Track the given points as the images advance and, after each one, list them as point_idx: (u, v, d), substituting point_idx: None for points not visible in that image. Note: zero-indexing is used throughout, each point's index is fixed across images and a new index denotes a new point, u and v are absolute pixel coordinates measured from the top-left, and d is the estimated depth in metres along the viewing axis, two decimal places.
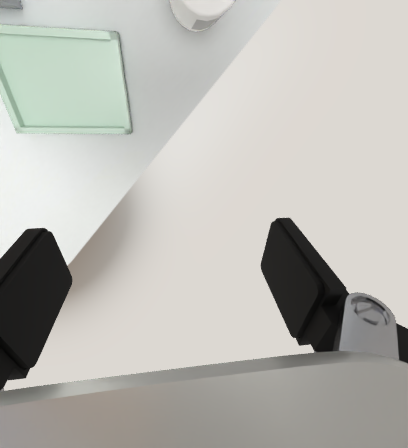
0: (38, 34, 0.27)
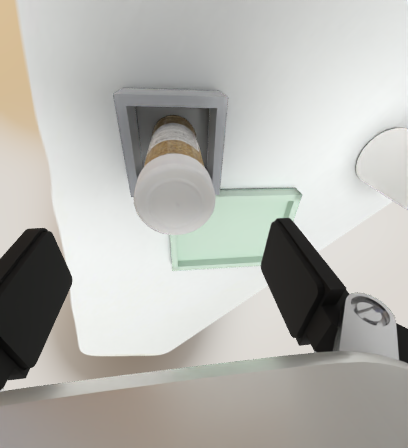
0: (227, 201, 0.26)
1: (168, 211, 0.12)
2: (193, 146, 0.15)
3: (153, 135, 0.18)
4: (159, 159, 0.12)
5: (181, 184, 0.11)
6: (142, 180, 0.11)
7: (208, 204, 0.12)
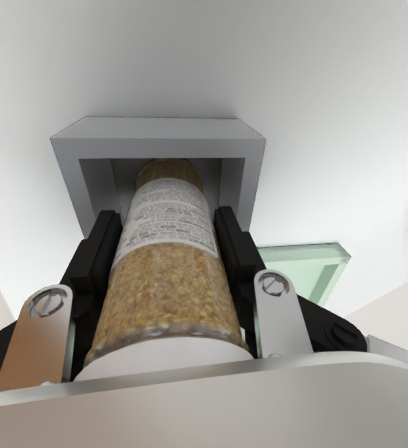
0: None
1: None
2: (207, 249, 0.08)
3: (132, 202, 0.11)
4: None
5: None
6: None
7: None
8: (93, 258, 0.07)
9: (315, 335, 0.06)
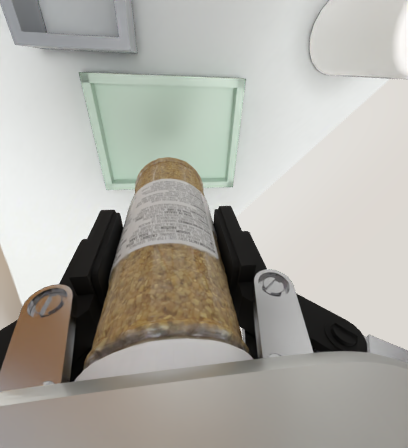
0: (155, 84, 0.22)
1: None
2: (207, 250, 0.08)
3: (132, 203, 0.11)
4: None
5: None
6: None
7: None
8: (94, 258, 0.07)
9: (315, 335, 0.06)
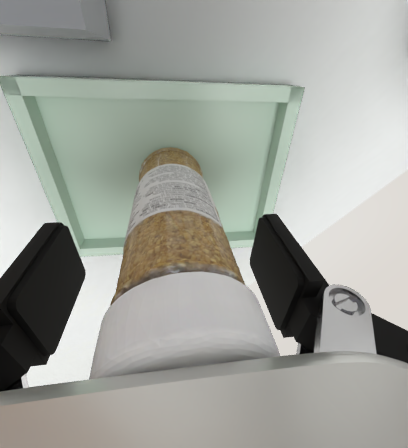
0: (145, 97, 0.12)
1: None
2: (212, 218, 0.08)
3: (140, 185, 0.11)
4: (150, 299, 0.05)
5: None
6: (105, 375, 0.04)
7: None
8: (14, 283, 0.06)
9: (394, 347, 0.06)
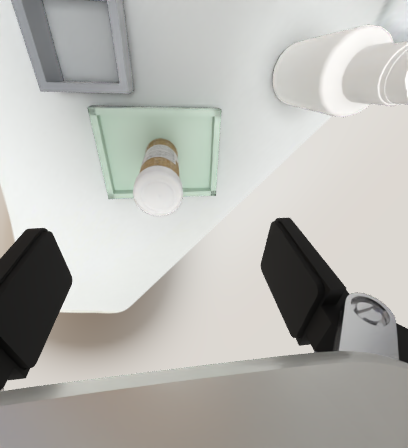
0: (148, 115, 0.27)
1: (153, 200, 0.20)
2: (171, 160, 0.24)
3: (146, 153, 0.27)
4: (148, 169, 0.20)
5: (161, 183, 0.20)
6: (138, 181, 0.19)
7: (178, 195, 0.20)
8: None
9: None
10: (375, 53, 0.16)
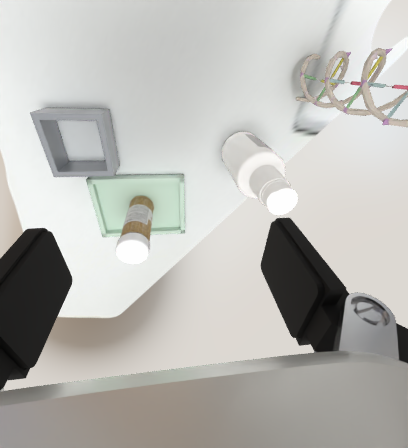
0: (130, 182, 0.38)
1: (129, 255, 0.31)
2: (144, 222, 0.34)
3: (128, 211, 0.37)
4: (125, 236, 0.31)
5: (133, 246, 0.30)
6: (118, 245, 0.30)
7: (145, 252, 0.31)
8: None
9: None
10: (260, 176, 0.27)
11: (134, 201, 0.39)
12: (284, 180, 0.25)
